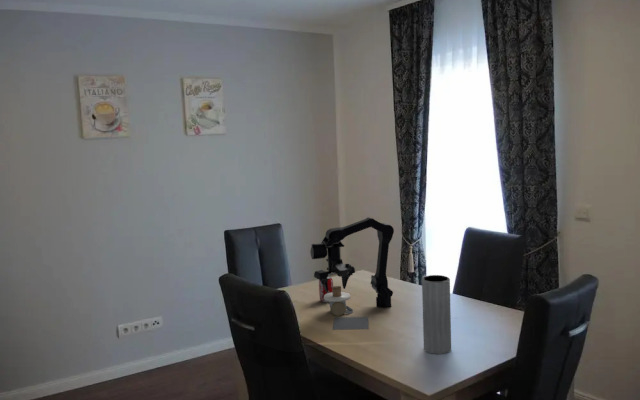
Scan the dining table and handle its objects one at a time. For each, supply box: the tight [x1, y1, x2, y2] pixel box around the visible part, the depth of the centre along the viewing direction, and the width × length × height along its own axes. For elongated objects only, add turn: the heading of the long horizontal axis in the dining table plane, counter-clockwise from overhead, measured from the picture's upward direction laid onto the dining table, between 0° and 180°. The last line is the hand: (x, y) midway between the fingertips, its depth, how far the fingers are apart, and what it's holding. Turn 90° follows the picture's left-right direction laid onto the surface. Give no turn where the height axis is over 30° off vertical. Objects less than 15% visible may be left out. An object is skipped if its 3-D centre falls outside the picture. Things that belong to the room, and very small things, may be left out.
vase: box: [421, 274, 452, 355], centre depth 198 cm, size 10×10×27 cm
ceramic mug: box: [328, 300, 354, 316], centre depth 244 cm, size 11×8×8 cm
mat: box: [332, 316, 370, 331], centre depth 229 cm, size 15×15×1 cm
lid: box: [324, 285, 351, 303], centre depth 243 cm, size 12×12×5 cm
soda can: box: [318, 275, 334, 303], centre depth 264 cm, size 7×7×12 cm
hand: (335, 290), depth 243 cm, fingers open, 9 cm apart
